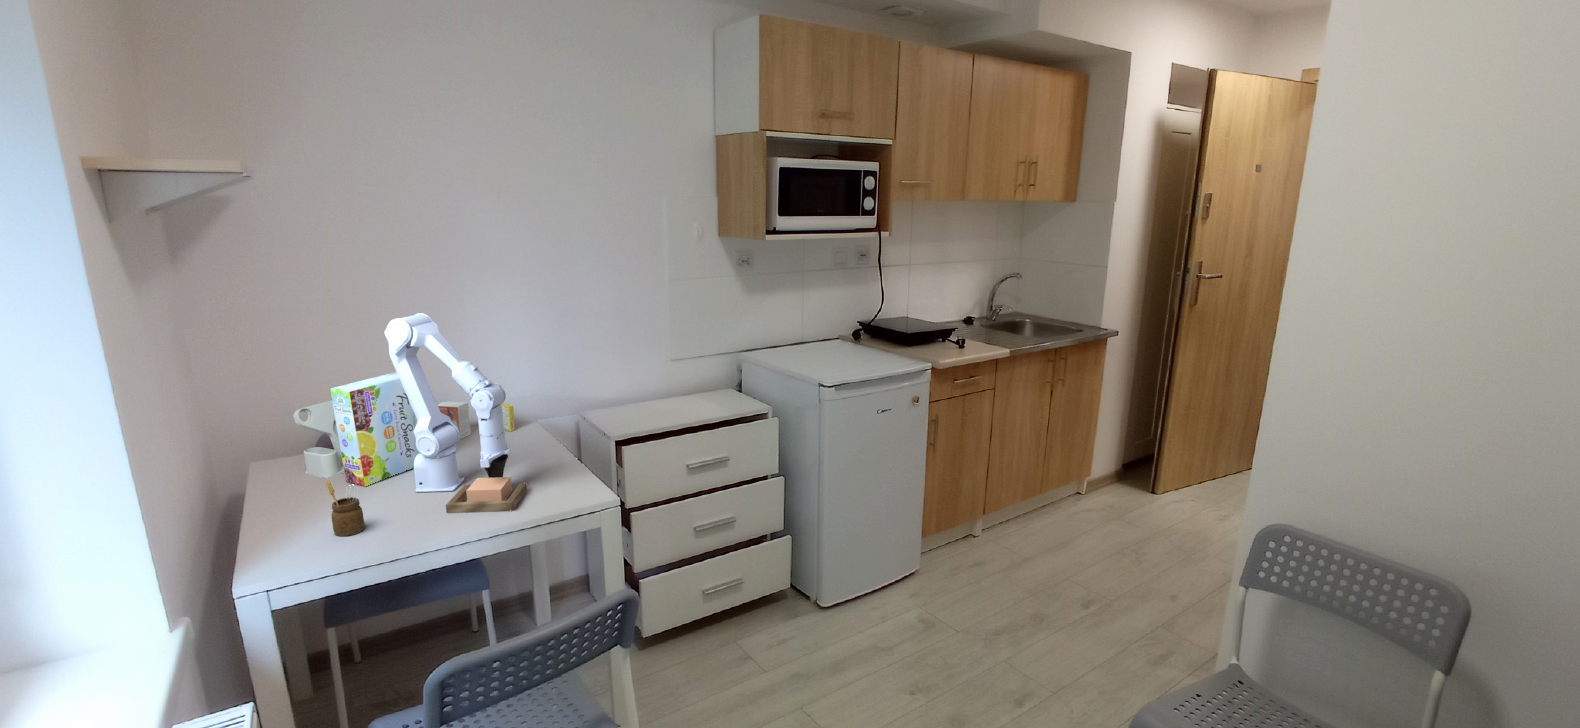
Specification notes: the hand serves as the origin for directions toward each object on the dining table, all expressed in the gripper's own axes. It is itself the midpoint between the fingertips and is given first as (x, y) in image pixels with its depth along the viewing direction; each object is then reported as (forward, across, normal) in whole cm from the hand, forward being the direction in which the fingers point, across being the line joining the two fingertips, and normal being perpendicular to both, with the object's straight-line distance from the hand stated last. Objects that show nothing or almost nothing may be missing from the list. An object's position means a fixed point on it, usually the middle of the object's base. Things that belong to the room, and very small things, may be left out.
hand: (496, 484), depth 185 cm
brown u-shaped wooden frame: (+1, -6, 0) cm, 7 cm away
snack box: (+2, +16, +32) cm, 36 cm away
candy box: (+2, +54, +16) cm, 56 cm away
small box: (+2, +45, +26) cm, 52 cm away
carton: (+2, -5, 0) cm, 6 cm away
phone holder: (+2, +21, +47) cm, 52 cm away
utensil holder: (+2, -21, +26) cm, 33 cm away
